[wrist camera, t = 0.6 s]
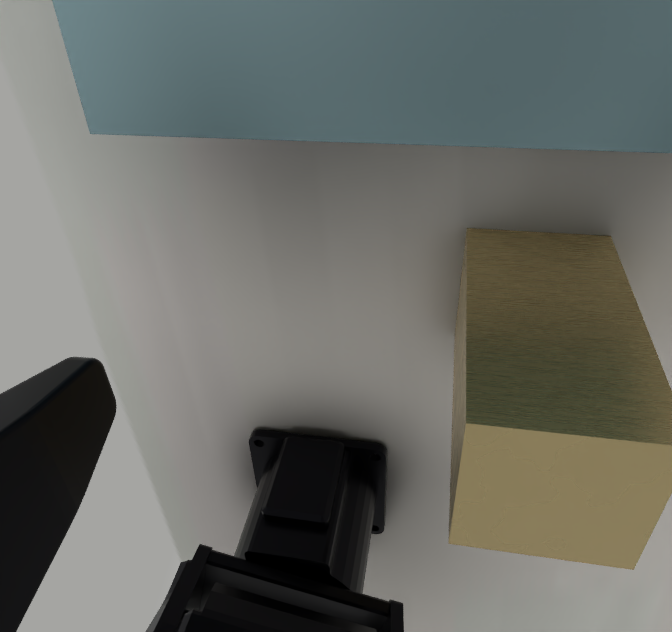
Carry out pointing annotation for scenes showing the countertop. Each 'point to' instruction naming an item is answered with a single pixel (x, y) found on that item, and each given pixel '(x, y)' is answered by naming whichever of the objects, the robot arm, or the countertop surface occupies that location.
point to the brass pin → (555, 403)
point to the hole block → (378, 71)
